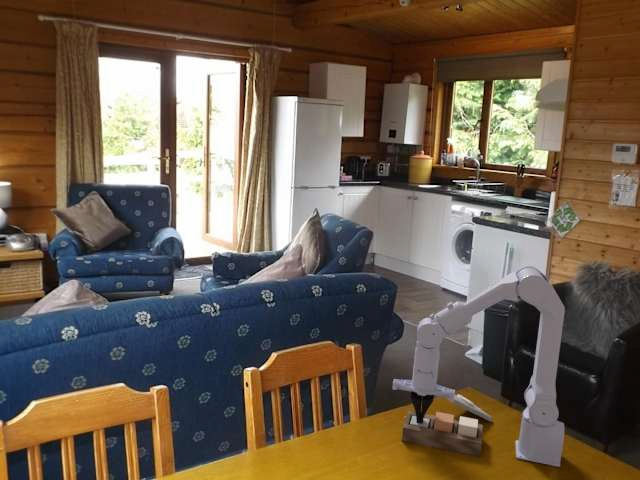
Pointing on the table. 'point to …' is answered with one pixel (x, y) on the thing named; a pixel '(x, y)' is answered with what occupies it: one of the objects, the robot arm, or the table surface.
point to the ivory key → (468, 426)
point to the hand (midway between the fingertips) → (419, 421)
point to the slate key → (424, 424)
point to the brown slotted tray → (442, 437)
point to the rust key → (443, 422)
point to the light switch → (470, 406)
